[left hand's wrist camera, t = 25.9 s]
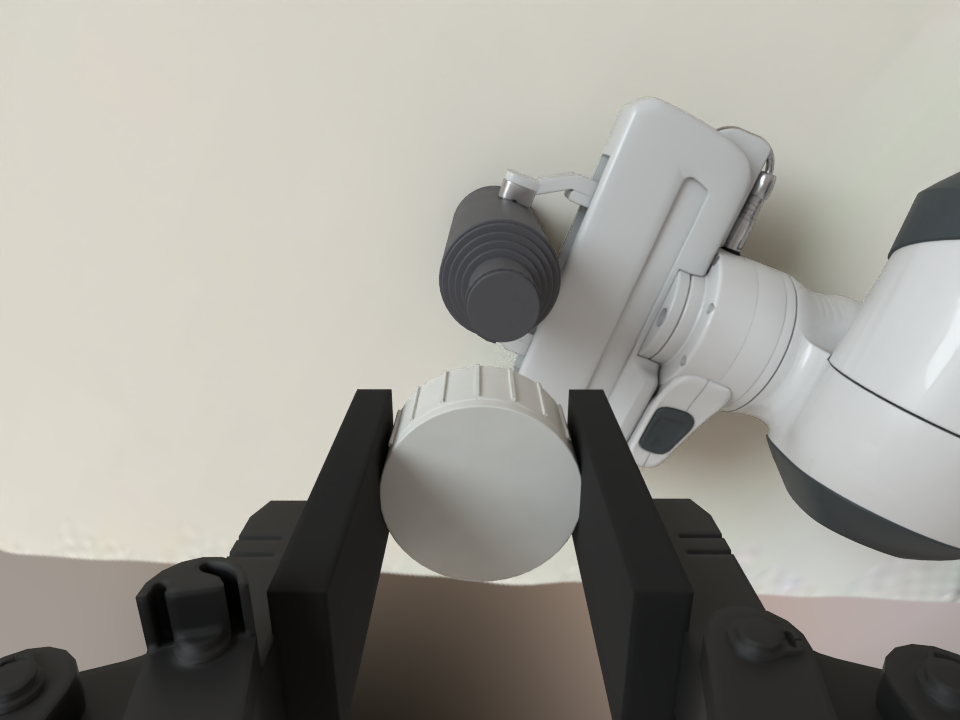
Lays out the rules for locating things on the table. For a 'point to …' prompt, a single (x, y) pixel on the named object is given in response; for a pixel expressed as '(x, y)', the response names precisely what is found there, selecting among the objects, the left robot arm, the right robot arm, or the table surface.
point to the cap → (480, 475)
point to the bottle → (498, 268)
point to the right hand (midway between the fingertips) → (480, 241)
